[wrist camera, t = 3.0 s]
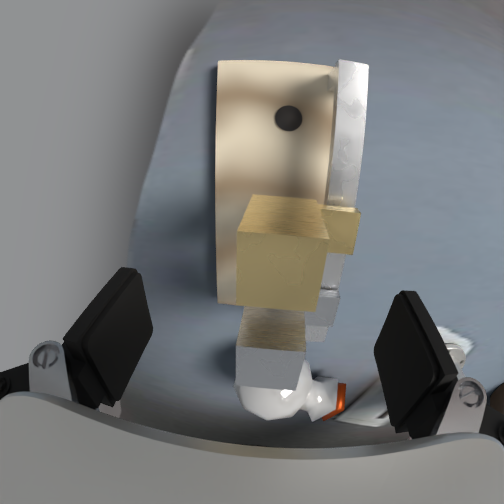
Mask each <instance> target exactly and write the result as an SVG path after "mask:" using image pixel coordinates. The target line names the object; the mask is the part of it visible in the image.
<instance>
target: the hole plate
mask: <svg viewBox="0 0 504 504" xmlns="http://www.w3.org/2000/svg"><path fill="white" fill-rule="evenodd" d="M333 68H334V67H331V66H324V65H316V64H307V63H297V62H284V61H262V60H229V61H218V77H217V105H216V155H215V217H216V268H217V298H218V303H221V304H230V305H236V259H237V230H238V227H239V225H240V223H241V220H242V218H243V216H244V213H245V211H246V209H247V206H248V204H249V202H250V200H251V197H252V195H253V194H255V195H268V196H281V197H292V198H303V199H313V200H316V201H317V203H318V204H323V205H324V198H325V190H326V181H327V172H328V163H329V153H330V142H331V130H332V116H333V101H334V92H333V91H327V84H328V74H329V72H330V71H331V70H332V69H333ZM239 306H241V305H239Z"/></svg>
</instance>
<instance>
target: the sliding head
mask: <svg viewBox="0 0 504 504" xmlns="http://www.w3.org/2000/svg"><path fill="white" fill-rule="evenodd" d="M360 215H361V213H360V211H359V210H358V209H357V208H349V207H341V206H332V205H323V204H318V203H317V201H316V200H313V199H303V198H292V197H281V196H268V195H255V194H253V195H252V197H251V200H250V202H249V204H248V206H247V209H246V211H245V213H244V216H243V218H242V220H241V223H240V225H239V227H238V230H237V259H236V305H241V306H251V307H261V308H271V309H283V310H295V311H308V312H316V307H317V302H318V298H319V293H320V288H321V283H322V278H323V273H324V267H325V262H326V256H327V253H338V254H349V255H353V251H354V246H355V241H356V236H357V231H358V226H359V221H360Z"/></svg>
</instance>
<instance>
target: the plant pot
mask: <svg viewBox="0 0 504 504" xmlns="http://www.w3.org/2000/svg"><path fill="white" fill-rule="evenodd" d="M490 407H492V408H494V409H495V410H497V411H499V412H500V413H502V414H504V383H503V384H502V385H501V386H499V387H498V388H497V389H496V390H495V391H494V392H493V394H492V395H491V397H490Z"/></svg>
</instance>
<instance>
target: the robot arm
mask: <svg viewBox="0 0 504 504" xmlns="http://www.w3.org/2000/svg"><path fill="white" fill-rule="evenodd" d="M152 332H153V326H152V322H151V318H150V313H149V309H148V305H147V300H146V296H145V291H144V286H143V282H142V277H141V274H140V273H138V272H137V270H136V269H133V268H125V267H121V268H120V269H119V270H118V271H117V272H116V273H115V275H114V276H113V277H112V278H111V279H110V280H109V281H108V283H107V284H106V285H105V286H104V287H103V288H102V290H101V291H100V292H99V293H98V294H97V296H96V297H95V298H94V300H92V302H91V303H90V304H89V305H88V307H87V308H86V309H85V310H84V312H83V313H82V314H81V315H80V317H79V318H78V319H77V320H76V322H75V323H74V325H73V326H72V327H71V328H70V330H69V331H68V332H67V333H66V335H65V336H64V337H63V340H64V343H63V344H62V345H61V344H60V343H58V342H56V341H45V342H43V343H40V344H39V345H37V346H36V347H35V348H34V349H33V350H32V352H31V354H30V357H29V363H27V364H24V365H21V366H18V367H15V368H12V369H9V370H6V371H3V372H0V504H504V414H502V413H500V412H499V411H497V410H495V409H494V408H492V407H490V406H489V405H487V404H486V402H487V395H486V391H485V389H484V387H483V386H482V385H481V383H480V382H478V381H477V380H476V379H473V378H471V377H465V376H464V373H463V371H462V368H463V366H464V364H465V359H466V357H465V353H464V351H463V349H462V348H461V347H460V346H458V345H455V344H445V343H444V341H443V339H442V337H441V335H440V333H439V331H438V329H437V328H436V326H435V324H434V322H433V320H432V318H431V316H430V315H429V313H428V311H427V309H426V308H425V306H424V304H423V302H422V301H421V299H420V297H419V295H418V294H417V292H416V291H401V292H400V293H399V294H397V295H396V296H395V297H394V300H393V303H392V305H391V308H390V310H389V313H388V315H387V318H386V320H385V323H384V325H383V328H382V330H381V332H380V335H379V337H378V339H377V341H376V344H375V346H374V356H375V360H376V364H377V368H378V371H379V375H380V379H381V383H382V387H383V392H384V396H385V400H386V405H387V409H388V414H389V419H390V423H391V425H392V426H395V431H396V433H402V432H408V431H409V435H410V437H409V439H408V440H406V441H399V442H392V443H384V444H377V445H368V446H357V447H344V448H317V449H300V448H272V447H258V446H248V445H238V444H230V443H223V442H216V441H210V440H204V439H199V438H193V437H188V436H183V435H179V434H174V433H170V432H166V431H162V430H158V429H154V428H150V427H147V426H143V425H140V424H136V423H133V422H130V421H126V420H123V419H120V418H117V417H114V416H111V415H108V414H105V413H102V412H100V411H99V408H98V407H99V405H100V403H103V404H105V405H108V406H111V407H113V406H114V404H115V402H116V401H119V400H120V399H121V397H122V395H123V393H124V391H125V388H126V386H127V384H128V382H129V380H130V378H131V376H132V374H133V372H134V370H135V368H136V366H137V364H138V361H139V359H140V357H141V355H142V353H143V351H144V349H145V347H146V345H147V343H148V342H149V340H150V338H151V336H152Z"/></svg>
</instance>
